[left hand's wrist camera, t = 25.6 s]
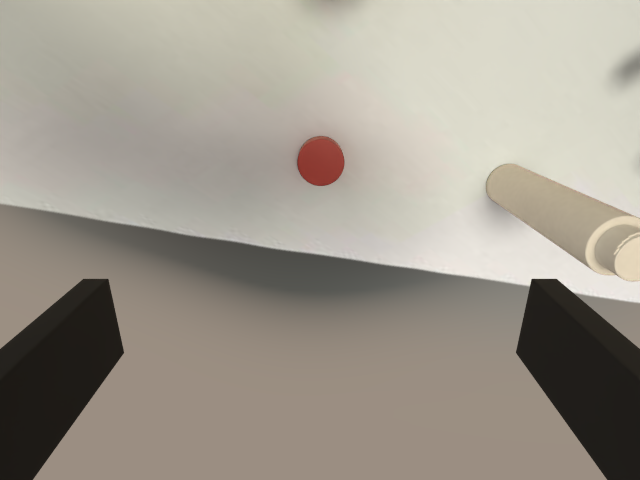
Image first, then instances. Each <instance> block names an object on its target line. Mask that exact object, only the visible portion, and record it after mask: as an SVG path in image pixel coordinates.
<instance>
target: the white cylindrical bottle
mask: <svg viewBox="0 0 640 480" xmlns="http://www.w3.org/2000/svg"><path fill="white" fill-rule="evenodd" d="M486 190H487V194H488V196H489V197H490V198H491V199H492V200H493V201H494V202H496V203H497V204H499V205H500V206H501V207H503V208H504V209H506V210H507V211H509V212H510V213H511V214H513V215H514V216H516V217H517V218H519V219H520V220H522V221H523V222H524V223H526V224H527V225H529V226H530V227H532V228H533V229H534V230H536V231H537V232H539V233H540V234H542V235H543V236H544V237H546V238H547V239H549V240H550V241H552V242H553V243H555V244H556V245H557V246H559V247H560V248H562V249H563V250H565V251H566V252H567V253H569V254H570V255H572V256H573V257H575V258H576V259H577V260H579V261H580V262H582V263H583V264H585V265H586V266H587V267H589V268H590V269H592V270H593V271H595V272H597V273H599V274H602V275H617V276H619V277H620V278H622V279H624V280H627V281H640V218H638V217H636V216H633V215H631V214H629V213H626V212H624V211H622V210H619V209H617V208H615V207H613V206H610V205H608V204H606V203H603V202H601V201H599V200H596V199H594V198H592V197H589V196H587V195H585V194H582V193H580V192H578V191H576V190H573V189H571V188H569V187H566V186H564V185H562V184H559V183H557V182H555V181H552V180H550V179H548V178H545V177H543V176H541V175H539V174H536V173H534V172H532V171H529V170H527V169H525V168H522V167H520V166H518V165H515V164H505V165H502V166H500V167H498V168H496V169H495V170H494V171H493V172H492V173H491V174H490V176H489V178H488V180H487V184H486Z"/></svg>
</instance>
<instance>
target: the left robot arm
mask: <svg viewBox="0 0 640 480" xmlns="http://www.w3.org/2000/svg"><path fill="white" fill-rule="evenodd" d="M123 353H124V351H123V346H122V341H121V336H120V332H119V327H118V322H117V318H116V313H115V308H114V304H113V299H112V294H111V290H110V285H109V280H108V279H83V280H82V281H81V282H79V283H78V284H77V285H76V286H75V287H73V288H72V289H71V290H70V291H69V292H67V293H66V294H65V295H64V296H63V297H62V298H60V299H59V300H58V301H57V302H56V303H54V304H53V305H52V306H51V307H50V308H48V309H47V310H46V311H45V312H44V313H43V314H41V315H40V316H39V317H38V318H37V319H35V320H34V321H33V322H32V323H31V324H30V325H28V326H27V327H26V328H25V329H24V330H22V331H21V332H20V333H19V334H18V335H16V336H15V337H14V338H13V339H12V340H10V341H9V342H8V343H7V344H6V345H5V346H3V347H2V348H1V349H0V480H33V479H34V477H35V476H36V474H37V473H38V472H39V470H40V469H41V467H42V466H43V465H44V463H45V462H46V461H47V459H48V458H49V456H50V455H51V454H52V452H53V451H54V449H55V448H56V447H57V445H58V444H59V442H60V441H61V440H62V438H63V437H64V435H65V434H66V433H67V431H68V430H69V428H70V427H71V426H72V424H73V423H74V422H75V420H76V419H77V417H78V416H79V415H80V413H81V412H82V410H83V409H84V408H85V406H86V405H87V403H88V402H89V401H90V399H91V398H92V396H93V395H94V394H95V392H96V391H97V389H98V388H99V387H100V385H101V384H102V383H103V381H104V380H105V378H106V377H107V376H108V374H109V373H110V371H111V370H112V369H113V367H114V366H115V365H116V363H117V362H118V360H119V359H120V357H121V356H122V355H123ZM516 353H517V355H518V356H519V358H520V359H521V360H522V362H523V363H524V365H525V366H526V367H527V369H528V370H529V371H530V373H531V374H532V375H533V377H534V378H535V380H536V381H537V383H538V384H539V385H540V387H541V388H542V390H543V391H544V392H545V394H546V395H547V396H548V398H549V399H550V401H551V402H552V403H553V405H554V406H555V408H556V409H557V410H558V412H559V413H560V415H561V416H562V417H563V419H564V420H565V422H566V423H567V424H568V426H569V427H570V429H571V430H572V431H573V433H574V434H575V435H576V437H577V438H578V440H579V441H580V442H581V444H582V445H583V447H584V448H585V449H586V451H587V452H588V454H589V455H590V456H591V458H592V459H593V461H594V462H595V463H596V465H597V466H598V467H599V469H600V470H601V472H602V473H603V474H604V476H605V477H606V479H607V480H640V349H639V348H638V347H637V346H635V345H634V344H633V343H632V342H631V341H630V340H628V339H627V338H626V337H625V336H623V335H622V334H621V333H620V332H619V331H618V330H616V329H615V328H614V327H613V326H612V325H611V324H609V323H608V322H607V321H606V320H605V319H603V318H602V317H601V316H600V315H599V314H597V313H596V312H595V311H594V310H593V309H592V308H590V307H589V306H588V305H587V304H586V303H584V302H583V301H582V300H581V299H580V298H578V297H577V296H576V295H575V294H574V293H573V292H571V291H570V290H569V289H568V288H567V287H565V286H564V285H563V284H562V283H561V282H559V281H558V280H557V279H532V280H531V285H530V290H529V294H528V299H527V304H526V308H525V313H524V318H523V322H522V327H521V332H520V336H519V341H518V346H517V350H516Z"/></svg>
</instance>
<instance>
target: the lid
mask: <svg viewBox="0 0 640 480" xmlns="http://www.w3.org/2000/svg"><path fill="white" fill-rule="evenodd" d="M343 168H344V157H343V153H342V150H341V148H340V146H339V145H338V144H337V143H336V142H335V141H334V140H332V139H331V138H328V137H324V136H317V137H313V138H311V139H309V140H308V141H307V142H305V143H304V145H303V146H302V148H301V150H300V152H299V156H298V169H299V172H300V174H301V175H302V177H303V178H304V179H305V180H306V181H307V182H309V183H311V184H313V185H317V186H324V185H328V184H331V183H333V182H334V181H336V180H337V179H338V178H339V176H340V175H341V173H342V171H343Z"/></svg>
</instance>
